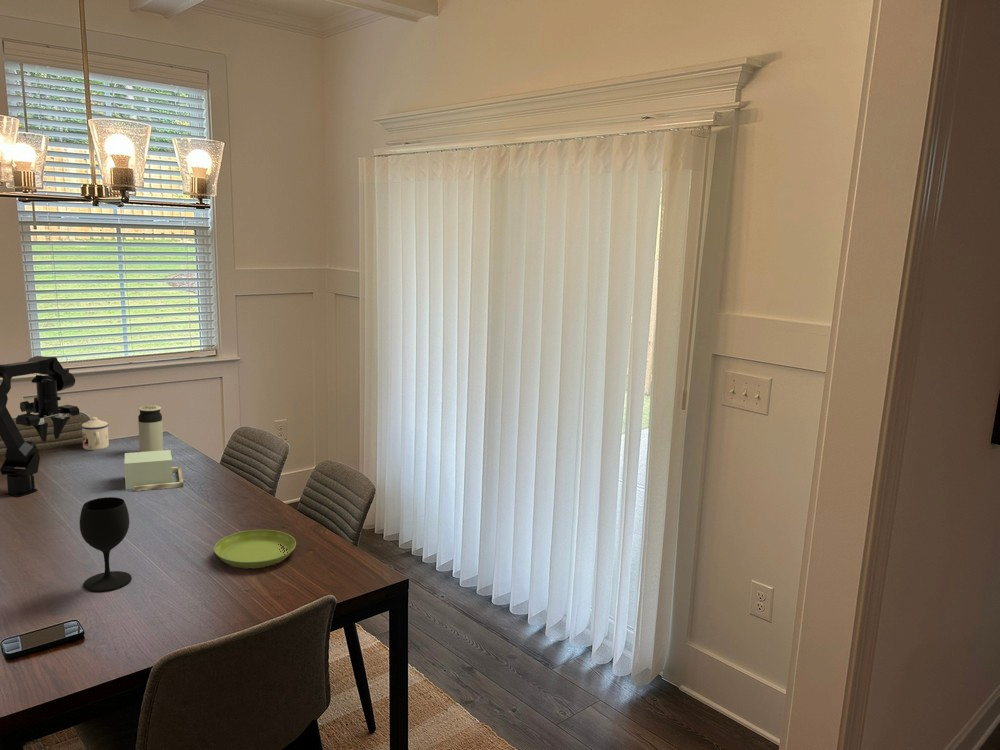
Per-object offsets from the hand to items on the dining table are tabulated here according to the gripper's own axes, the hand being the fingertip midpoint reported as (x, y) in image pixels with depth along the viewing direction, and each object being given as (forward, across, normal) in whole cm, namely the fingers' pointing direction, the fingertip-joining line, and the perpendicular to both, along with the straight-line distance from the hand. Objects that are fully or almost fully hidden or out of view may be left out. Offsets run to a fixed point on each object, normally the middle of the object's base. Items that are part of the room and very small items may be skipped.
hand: (50, 440), depth 243 cm
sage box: (+13, -12, +29) cm, 34 cm away
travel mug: (+13, -35, +7) cm, 38 cm away
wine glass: (+13, +46, +76) cm, 90 cm away
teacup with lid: (+13, -31, -16) cm, 37 cm away
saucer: (+14, +18, +97) cm, 100 cm away
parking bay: (+13, -14, +31) cm, 37 cm away
